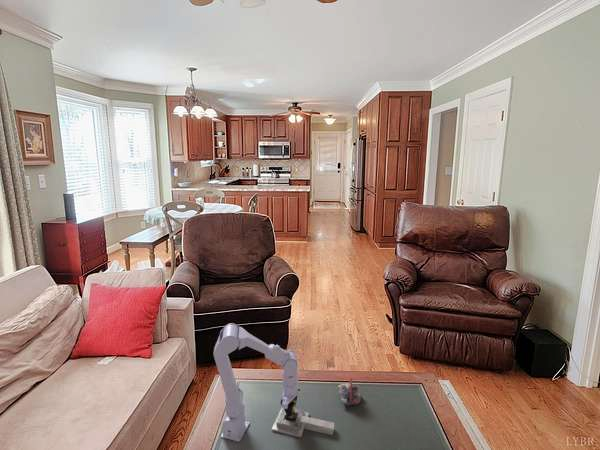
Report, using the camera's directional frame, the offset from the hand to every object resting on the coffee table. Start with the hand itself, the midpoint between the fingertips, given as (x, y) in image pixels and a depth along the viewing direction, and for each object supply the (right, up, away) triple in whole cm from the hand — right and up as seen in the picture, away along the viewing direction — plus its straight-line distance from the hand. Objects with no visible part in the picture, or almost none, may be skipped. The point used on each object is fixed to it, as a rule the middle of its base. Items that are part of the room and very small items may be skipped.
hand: (290, 410), depth 141 cm
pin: (0, -2, +1) cm, 2 cm away
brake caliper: (+25, -2, +14) cm, 29 cm away
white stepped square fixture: (+6, -6, 0) cm, 8 cm away
